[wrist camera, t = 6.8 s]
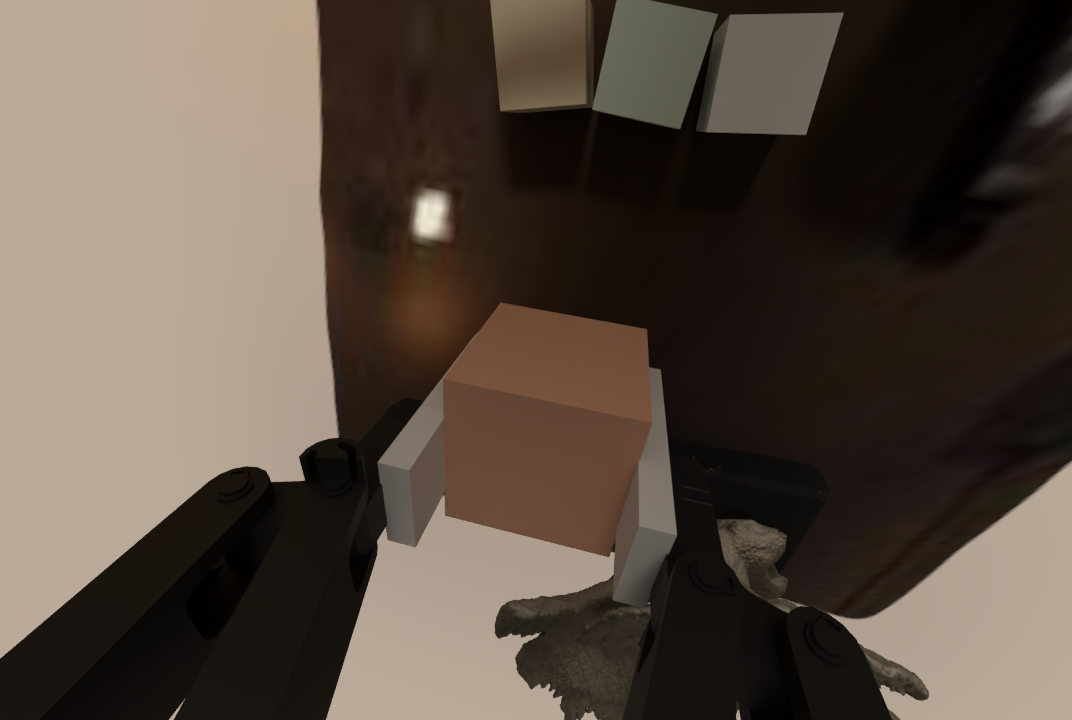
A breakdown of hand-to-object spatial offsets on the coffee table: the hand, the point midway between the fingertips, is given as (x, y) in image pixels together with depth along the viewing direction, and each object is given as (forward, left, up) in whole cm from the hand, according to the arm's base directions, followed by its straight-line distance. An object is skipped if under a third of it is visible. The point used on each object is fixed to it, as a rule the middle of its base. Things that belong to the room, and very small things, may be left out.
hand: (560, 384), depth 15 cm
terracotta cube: (0, 0, 0) cm, 0 cm away
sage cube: (-11, +1, -20) cm, 23 cm away
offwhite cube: (-11, +7, -20) cm, 24 cm away
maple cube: (-11, -5, -20) cm, 23 cm away
